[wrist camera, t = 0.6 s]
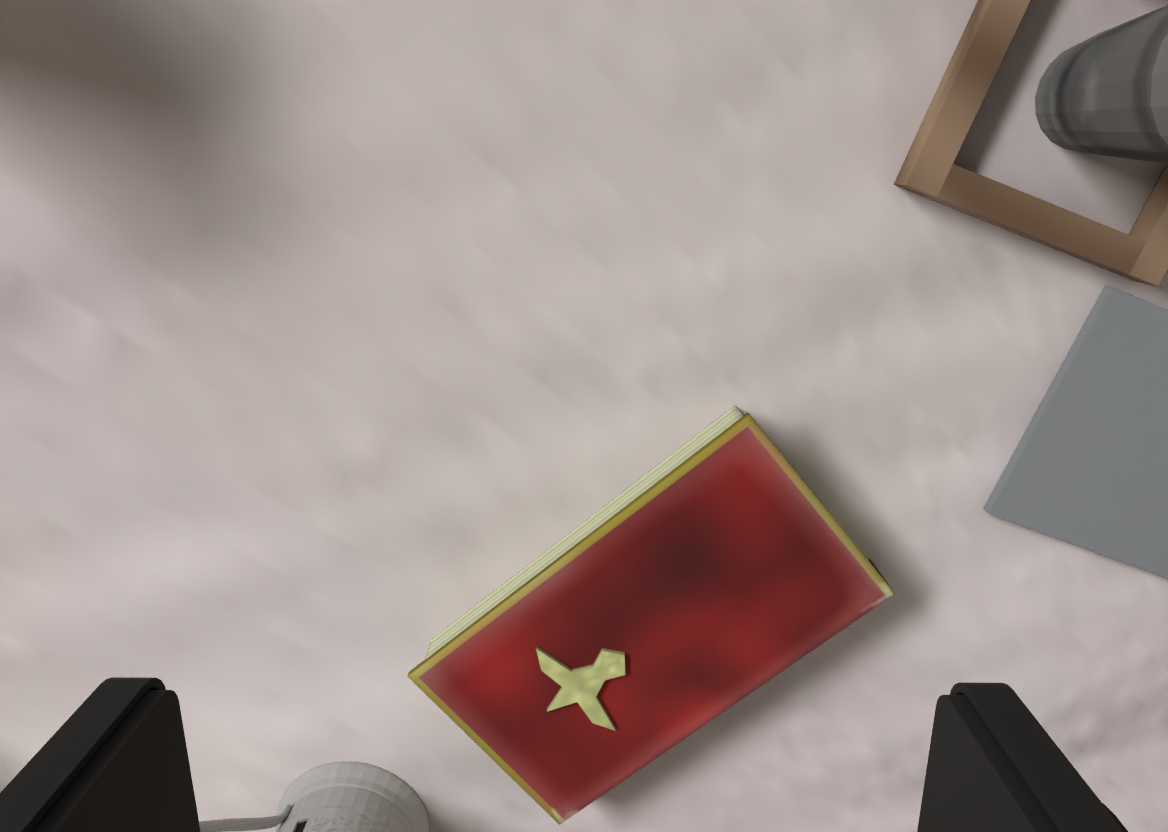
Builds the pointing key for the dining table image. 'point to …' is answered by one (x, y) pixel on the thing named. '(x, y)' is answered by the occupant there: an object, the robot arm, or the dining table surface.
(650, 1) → the dining table surface
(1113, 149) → the beverage cup
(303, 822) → the glass holder
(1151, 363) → the slate mat
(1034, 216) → the frame
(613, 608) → the hardcover book
